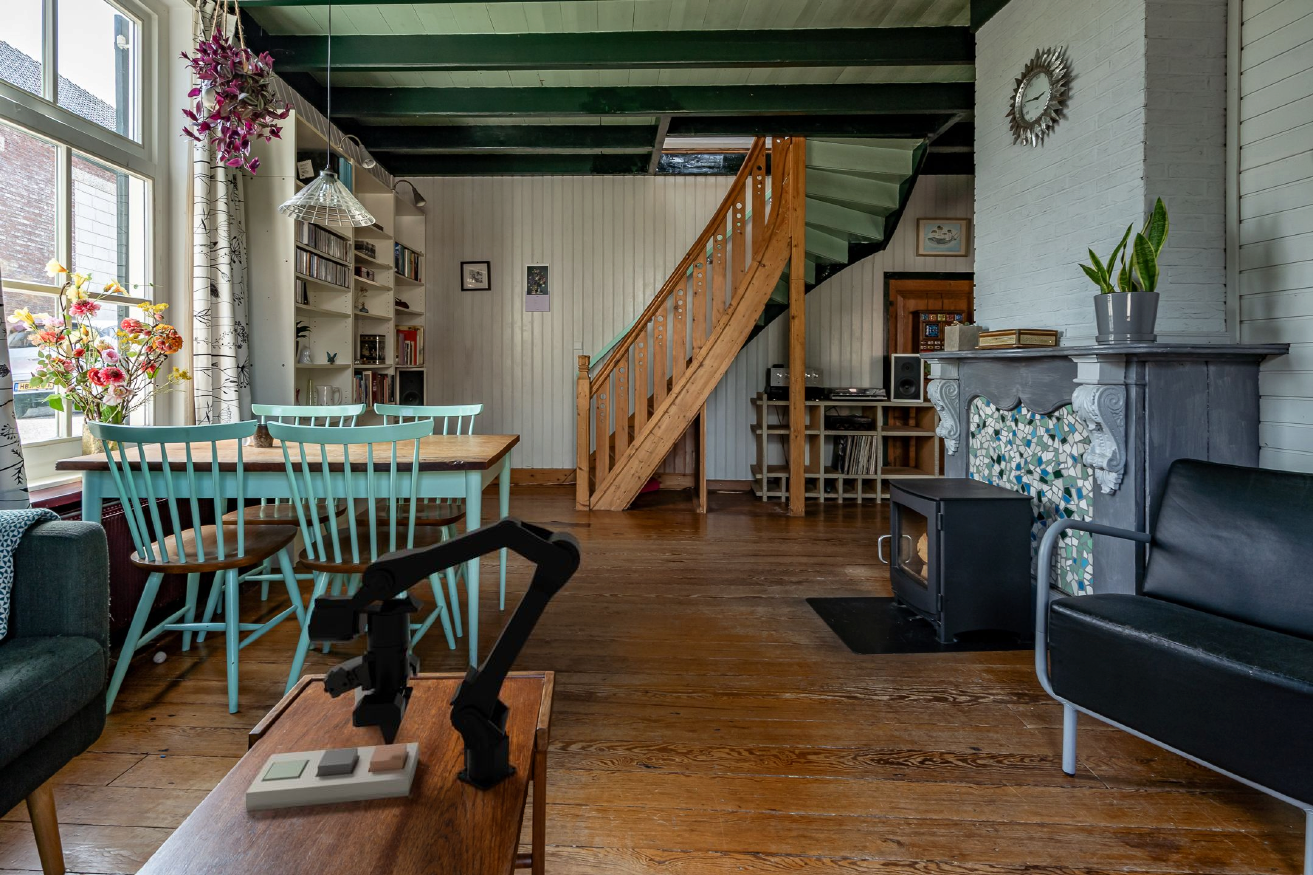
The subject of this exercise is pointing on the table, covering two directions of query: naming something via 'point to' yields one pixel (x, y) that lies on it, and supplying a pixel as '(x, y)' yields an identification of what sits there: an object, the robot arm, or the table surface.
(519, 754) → the table surface
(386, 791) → the keypad frame
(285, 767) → the sage key
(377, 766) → the terracotta key
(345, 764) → the charcoal key
